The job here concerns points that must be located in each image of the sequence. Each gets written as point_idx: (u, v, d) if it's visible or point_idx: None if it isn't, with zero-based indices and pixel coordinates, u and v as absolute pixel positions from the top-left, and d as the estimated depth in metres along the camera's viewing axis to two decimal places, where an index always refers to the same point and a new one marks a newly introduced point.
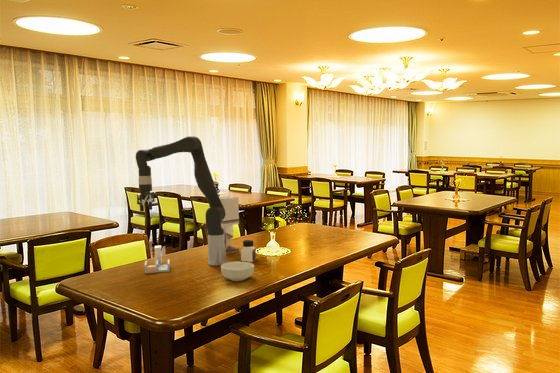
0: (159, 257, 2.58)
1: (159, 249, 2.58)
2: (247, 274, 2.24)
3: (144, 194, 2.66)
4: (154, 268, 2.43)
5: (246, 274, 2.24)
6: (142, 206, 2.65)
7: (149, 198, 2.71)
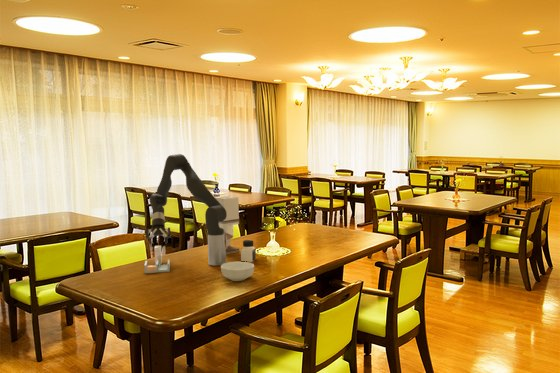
0: (159, 257, 2.58)
1: (159, 249, 2.58)
2: (247, 274, 2.24)
3: (153, 228, 2.71)
4: (154, 268, 2.43)
5: (246, 274, 2.24)
6: (149, 239, 2.67)
7: (162, 232, 2.71)
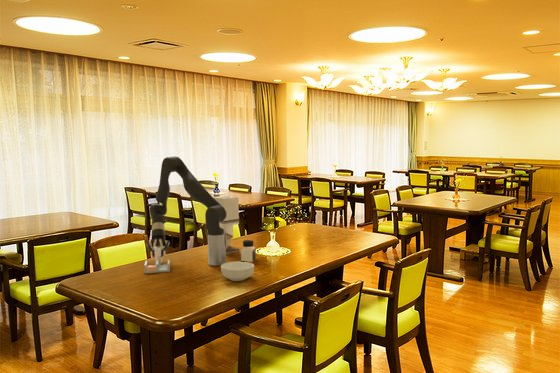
0: (159, 257, 2.58)
1: (159, 249, 2.58)
2: (247, 274, 2.24)
3: (153, 239, 2.65)
4: (154, 268, 2.43)
5: (246, 274, 2.24)
6: (153, 251, 2.60)
7: None
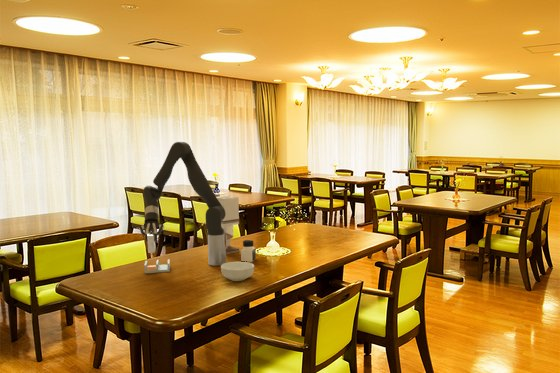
0: (152, 245, 2.45)
1: (152, 237, 2.43)
2: (247, 274, 2.24)
3: (146, 223, 2.51)
4: (154, 268, 2.43)
5: (246, 274, 2.24)
6: (146, 235, 2.46)
7: None
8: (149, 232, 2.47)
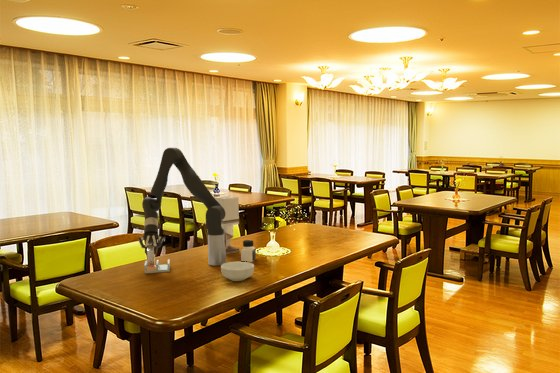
0: (152, 259, 2.44)
1: (152, 252, 2.43)
2: (247, 274, 2.24)
3: (145, 235, 2.50)
4: (154, 268, 2.43)
5: (246, 274, 2.24)
6: (145, 248, 2.45)
7: None
8: (149, 246, 2.46)
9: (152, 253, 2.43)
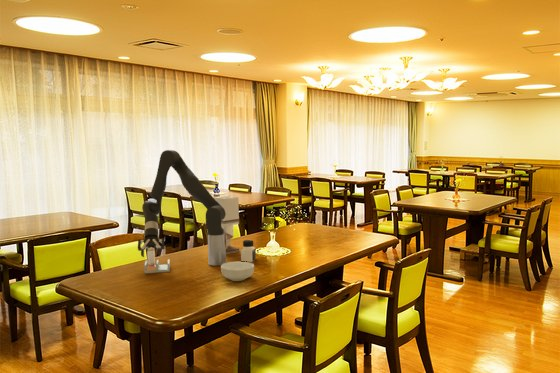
0: (152, 260, 2.46)
1: (152, 252, 2.45)
2: (247, 274, 2.24)
3: (145, 239, 2.50)
4: (154, 268, 2.43)
5: (246, 274, 2.24)
6: (142, 250, 2.46)
7: None
8: (149, 248, 2.49)
9: (152, 253, 2.45)
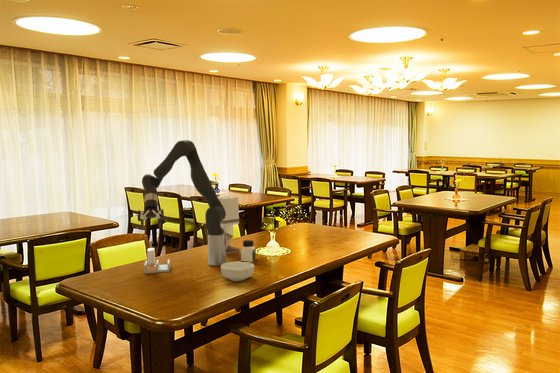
0: (152, 260, 2.46)
1: (152, 252, 2.45)
2: (247, 274, 2.24)
3: (145, 210, 2.56)
4: (154, 268, 2.43)
5: (246, 274, 2.24)
6: (141, 221, 2.52)
7: None
8: (149, 248, 2.49)
9: (152, 253, 2.45)
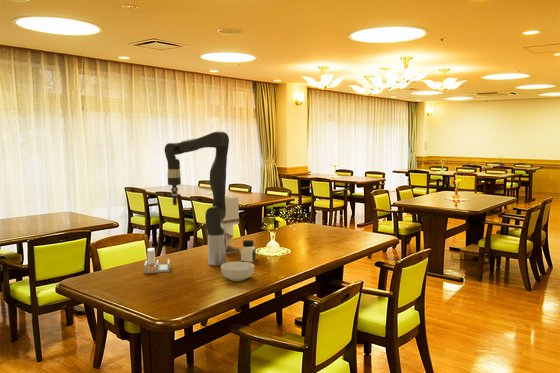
0: (152, 260, 2.46)
1: (152, 252, 2.45)
2: (247, 274, 2.24)
3: (176, 187, 2.66)
4: (154, 268, 2.43)
5: (246, 274, 2.24)
6: (176, 199, 2.64)
7: None
8: (149, 248, 2.49)
9: (152, 253, 2.45)
